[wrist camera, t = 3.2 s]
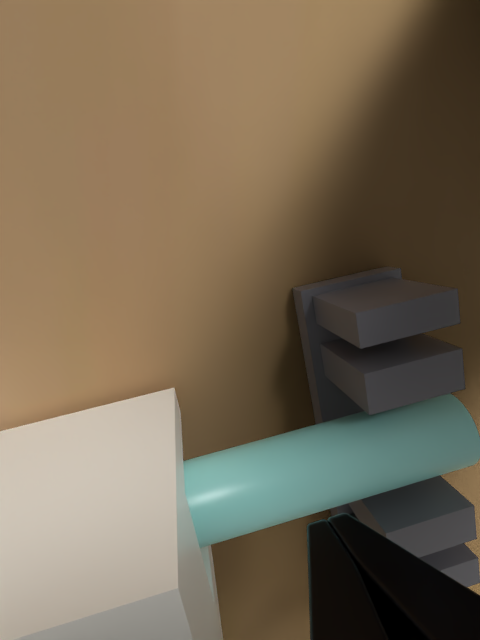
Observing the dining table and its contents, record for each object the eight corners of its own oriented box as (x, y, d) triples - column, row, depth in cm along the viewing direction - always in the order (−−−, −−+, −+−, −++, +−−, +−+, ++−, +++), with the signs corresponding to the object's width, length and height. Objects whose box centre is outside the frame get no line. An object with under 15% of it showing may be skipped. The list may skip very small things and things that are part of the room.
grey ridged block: (386, 266, 12) (469, 276, 9) (413, 501, 14) (490, 584, 11) (292, 287, 12) (341, 307, 8) (333, 526, 14) (386, 621, 10)
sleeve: (174, 387, 11) (178, 588, 5) (207, 516, 12) (248, 828, 6) (-8, 433, 11) (-285, 732, 4) (43, 565, 12) (-120, 973, 5)
